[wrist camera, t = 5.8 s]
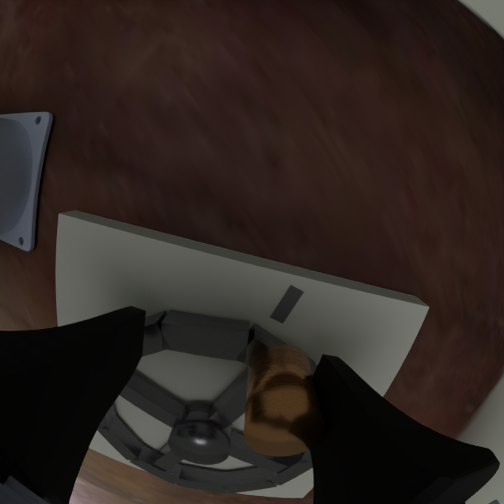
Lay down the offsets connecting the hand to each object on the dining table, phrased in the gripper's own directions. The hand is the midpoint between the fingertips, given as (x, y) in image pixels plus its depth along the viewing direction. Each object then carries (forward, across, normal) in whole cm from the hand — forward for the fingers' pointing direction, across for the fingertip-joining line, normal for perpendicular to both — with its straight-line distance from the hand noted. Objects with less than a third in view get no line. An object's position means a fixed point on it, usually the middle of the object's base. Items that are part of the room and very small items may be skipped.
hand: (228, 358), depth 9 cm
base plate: (+4, 0, +6) cm, 7 cm away
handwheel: (+2, 0, +6) cm, 6 cm away
